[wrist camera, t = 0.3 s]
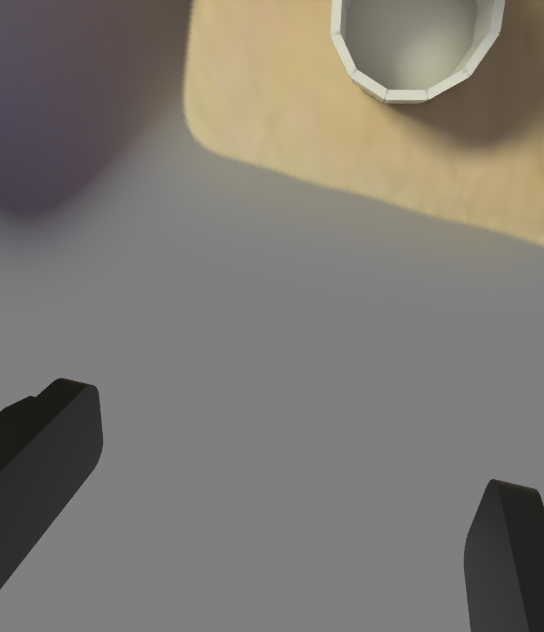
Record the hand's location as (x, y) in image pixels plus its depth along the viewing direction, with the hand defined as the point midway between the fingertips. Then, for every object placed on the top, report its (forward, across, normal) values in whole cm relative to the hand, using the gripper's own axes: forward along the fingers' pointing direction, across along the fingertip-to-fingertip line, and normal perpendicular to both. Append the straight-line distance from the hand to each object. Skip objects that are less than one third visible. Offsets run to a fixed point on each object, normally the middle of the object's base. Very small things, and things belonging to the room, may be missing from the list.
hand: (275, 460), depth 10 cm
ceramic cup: (+29, -1, -9) cm, 30 cm away
